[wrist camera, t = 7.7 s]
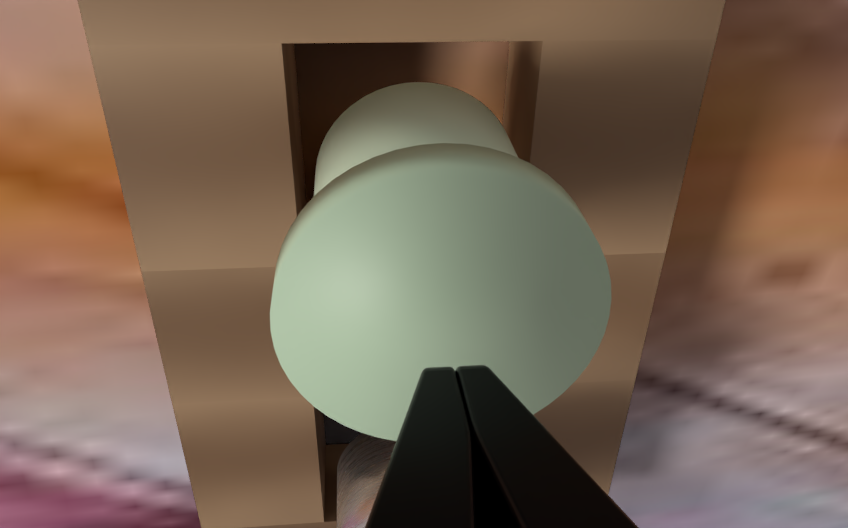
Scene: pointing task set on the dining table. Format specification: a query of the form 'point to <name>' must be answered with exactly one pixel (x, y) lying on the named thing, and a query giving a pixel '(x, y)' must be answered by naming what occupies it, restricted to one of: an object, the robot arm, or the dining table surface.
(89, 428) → the dining table surface
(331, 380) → the sage plug
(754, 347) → the dining table surface
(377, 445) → the plunger
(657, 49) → the walnut board
